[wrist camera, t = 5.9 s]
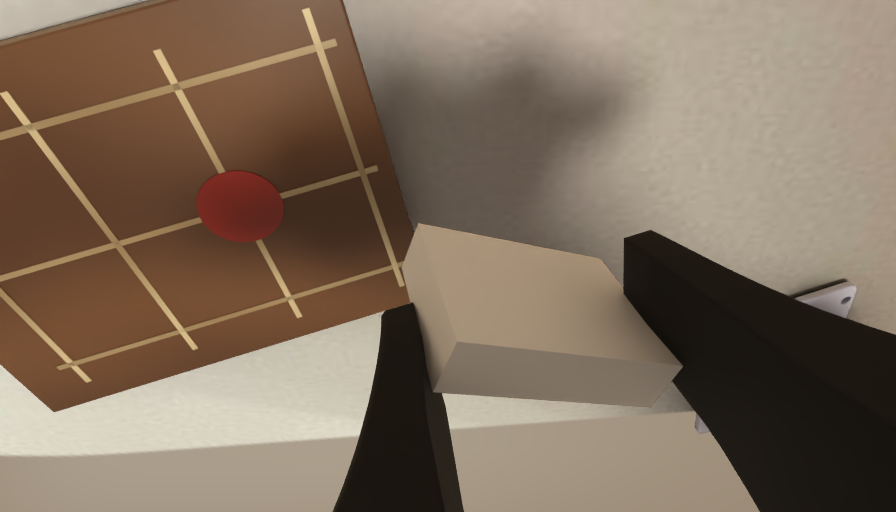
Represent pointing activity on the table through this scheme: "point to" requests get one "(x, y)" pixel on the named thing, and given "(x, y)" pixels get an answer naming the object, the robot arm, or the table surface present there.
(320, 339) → the table surface
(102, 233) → the board
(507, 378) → the eraser
